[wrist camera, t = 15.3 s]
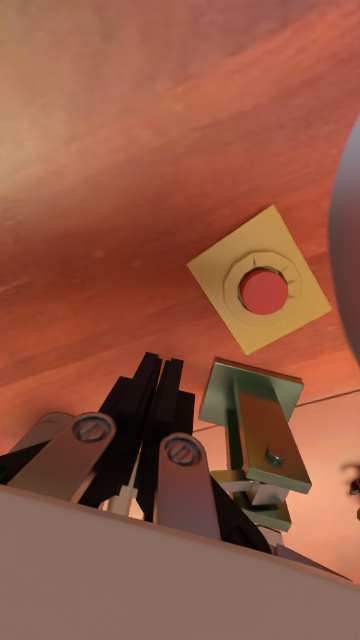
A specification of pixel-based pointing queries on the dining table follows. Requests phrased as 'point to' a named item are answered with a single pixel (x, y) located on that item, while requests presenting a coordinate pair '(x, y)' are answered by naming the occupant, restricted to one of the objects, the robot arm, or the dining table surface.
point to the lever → (225, 478)
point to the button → (264, 292)
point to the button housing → (246, 257)
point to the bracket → (257, 433)
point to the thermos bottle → (44, 430)
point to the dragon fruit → (355, 492)
